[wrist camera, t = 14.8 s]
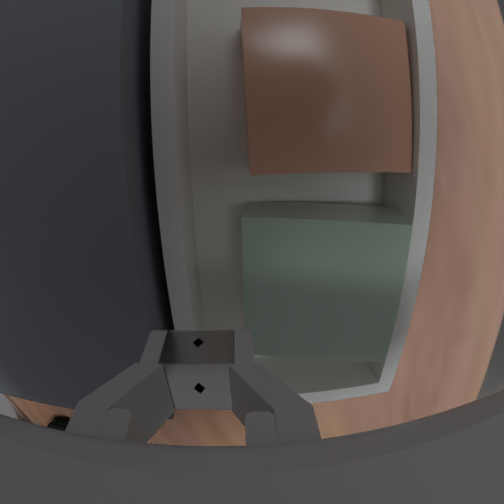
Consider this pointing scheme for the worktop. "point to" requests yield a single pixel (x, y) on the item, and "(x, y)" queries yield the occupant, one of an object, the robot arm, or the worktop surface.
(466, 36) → the worktop surface
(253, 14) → the tile
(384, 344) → the tile
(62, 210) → the dark grey slab
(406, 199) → the box
